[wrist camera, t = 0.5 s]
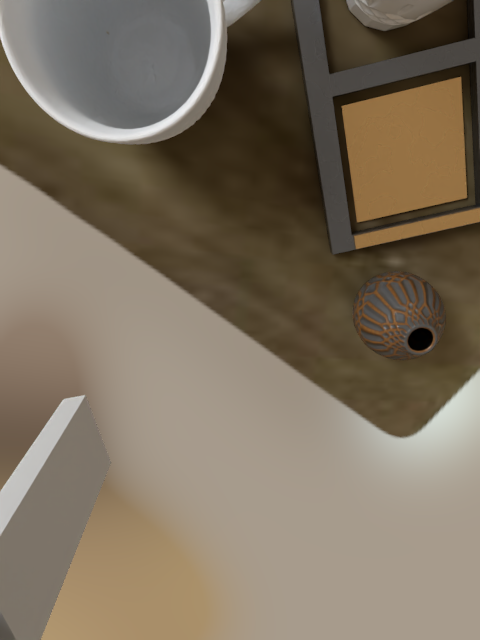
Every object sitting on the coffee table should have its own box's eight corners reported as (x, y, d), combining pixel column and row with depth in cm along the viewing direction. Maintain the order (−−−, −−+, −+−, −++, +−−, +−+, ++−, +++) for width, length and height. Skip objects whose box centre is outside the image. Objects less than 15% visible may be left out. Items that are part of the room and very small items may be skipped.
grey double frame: (273, -112, 30) (274, -122, 29) (487, -173, 29) (497, -186, 28) (330, 251, 39) (333, 255, 38) (497, 214, 38) (505, 217, 37)
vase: (424, 330, 41) (471, 374, 33) (349, 343, 42) (376, 390, 34) (421, 256, 39) (469, 285, 31) (341, 271, 40) (368, 303, 31)
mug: (231, -90, 31) (227, -248, 18) (301, 73, 34) (337, 31, 22) (50, 30, 33) (-59, -39, 21) (133, 171, 36) (80, 183, 24)
